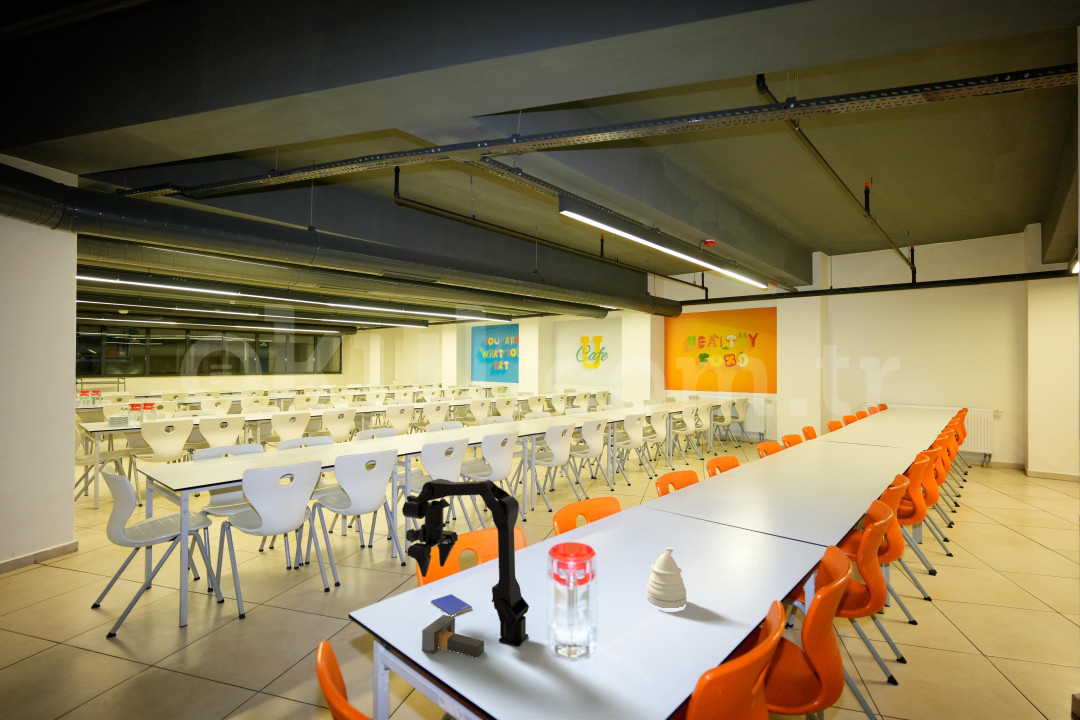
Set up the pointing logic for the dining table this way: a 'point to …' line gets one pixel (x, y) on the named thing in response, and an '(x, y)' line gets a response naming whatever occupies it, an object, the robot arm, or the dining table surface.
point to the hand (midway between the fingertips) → (433, 571)
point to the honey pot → (666, 583)
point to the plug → (461, 643)
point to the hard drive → (451, 604)
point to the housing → (436, 632)
